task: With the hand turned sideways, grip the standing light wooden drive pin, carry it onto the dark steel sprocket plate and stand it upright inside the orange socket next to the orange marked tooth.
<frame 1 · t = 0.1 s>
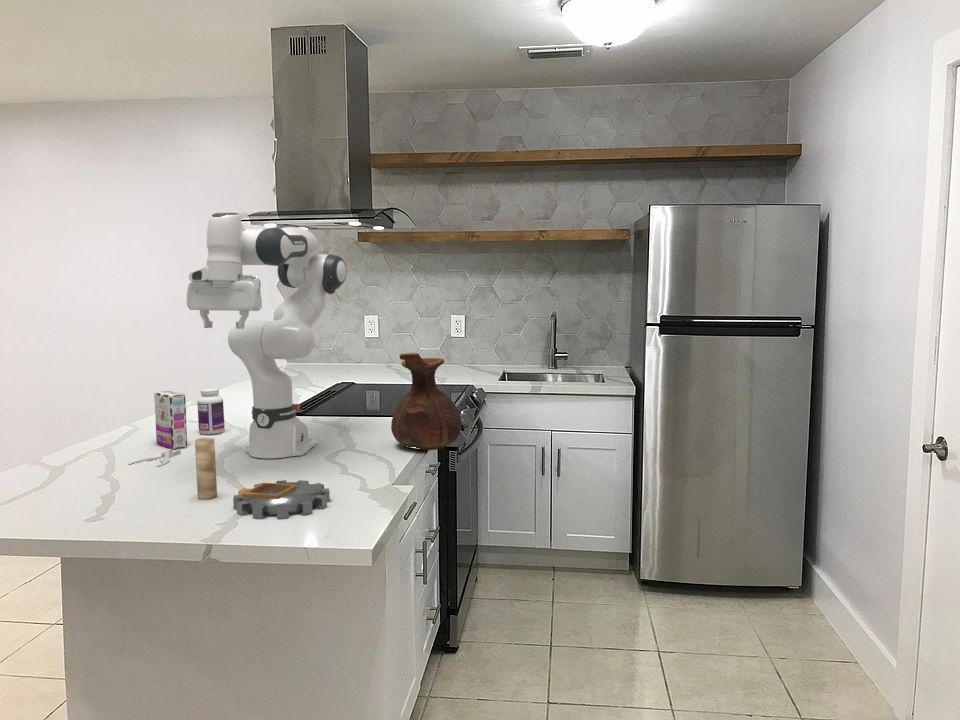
hand: (224, 328, 201), 39 cm above the counter, tool pointing down, fingers open, 8 cm apart
pill bottle: (211, 433, 255), on the counter
pliers: (159, 461, 221), on the counter
sprocket: (282, 503, 181), on the counter
jug: (425, 446, 237), on the counter
drive pin: (207, 496, 186), on the counter
candy bar box: (172, 446, 237), on the counter
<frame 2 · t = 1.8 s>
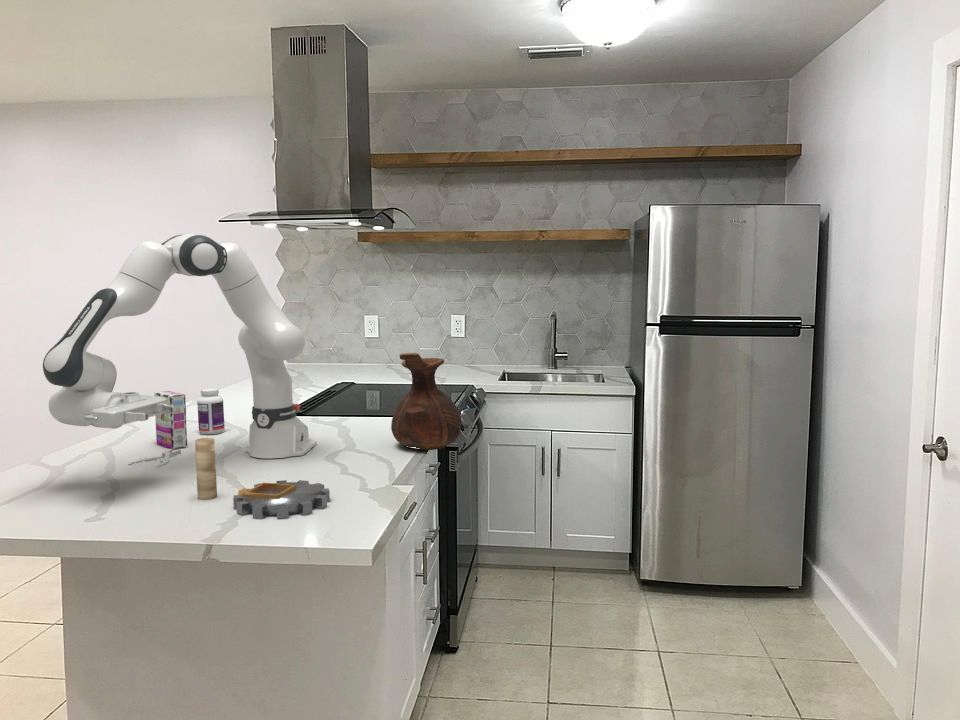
hand: (159, 413, 186), 20 cm above the counter, tool horizontal, fingers open, 8 cm apart
nothing on the counter moved.
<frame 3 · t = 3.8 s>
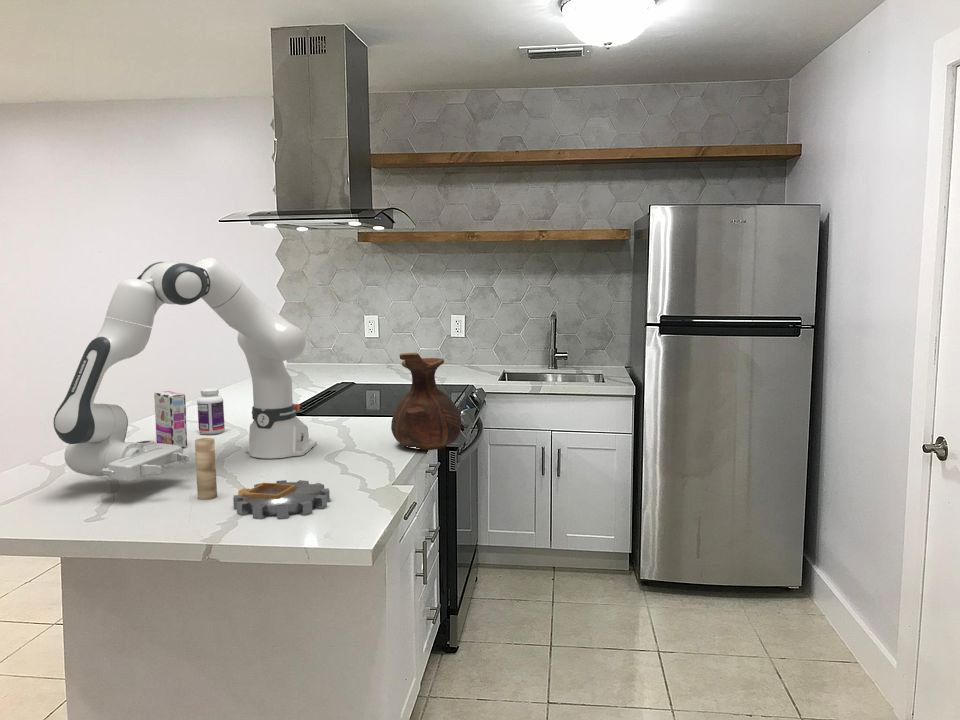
hand: (175, 464, 187), 7 cm above the counter, tool horizontal, fingers open, 8 cm apart
nothing on the counter moved.
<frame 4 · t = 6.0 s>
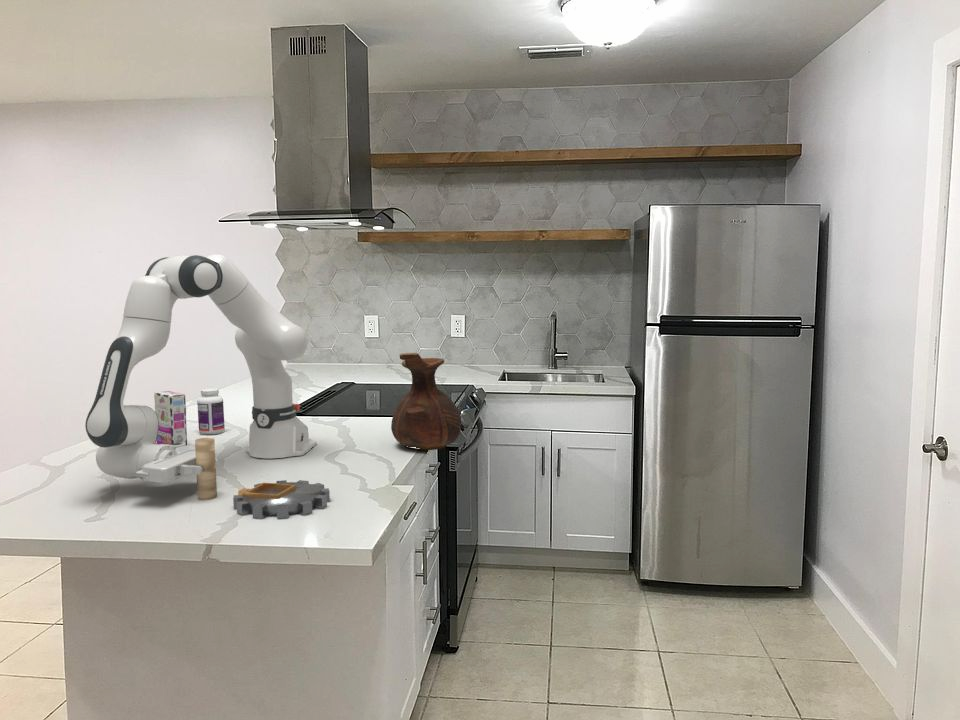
hand: (209, 466, 185), 8 cm above the counter, tool horizontal, fingers closed on drive pin, 4 cm apart
drive pin: (207, 496, 186), on the counter, touching gripper
everything else where it was.
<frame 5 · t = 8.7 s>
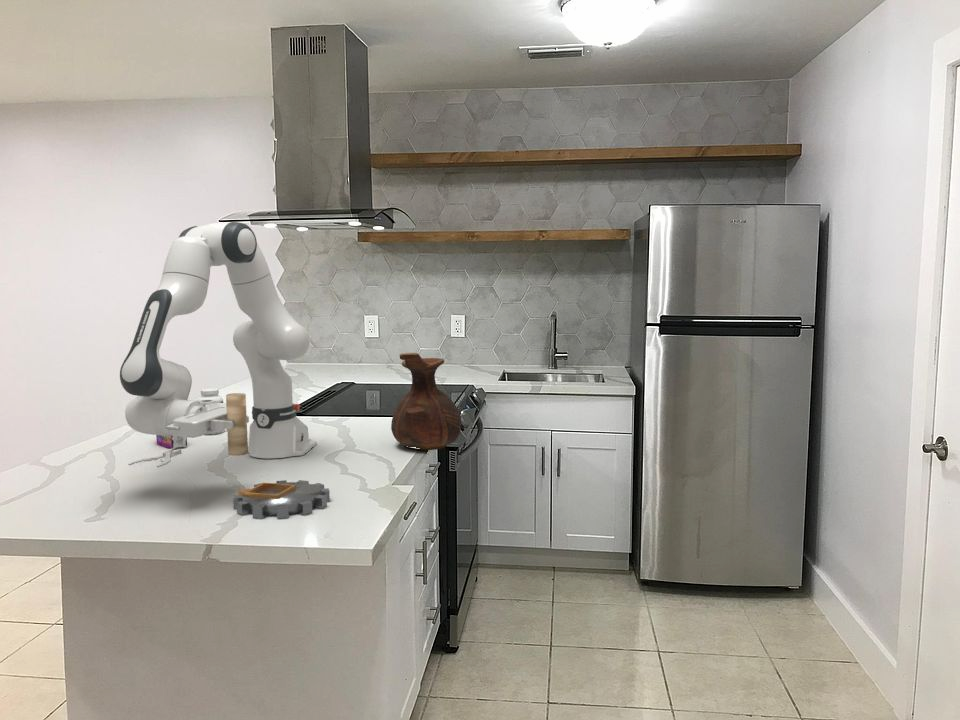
hand: (240, 422, 181), 19 cm above the counter, tool horizontal, fingers closed on drive pin, 4 cm apart
drive pin: (238, 453, 182), point 11 cm above the counter, touching gripper
everything else where it was.
when the fingers open (11 cm above the counter, at t = 11.5 s): drive pin drops 1 cm, resting on sprocket.
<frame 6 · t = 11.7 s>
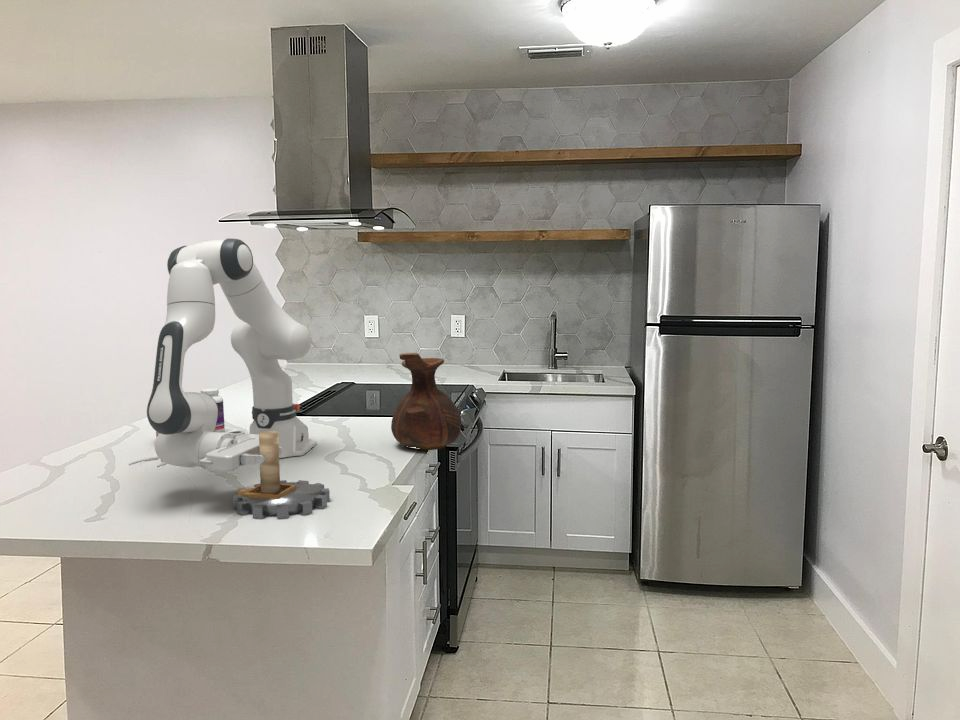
hand: (272, 455, 180), 11 cm above the counter, tool horizontal, fingers open, 6 cm apart
drive pin: (270, 491, 181), point 3 cm above the counter, touching sprocket
everything else where it was.
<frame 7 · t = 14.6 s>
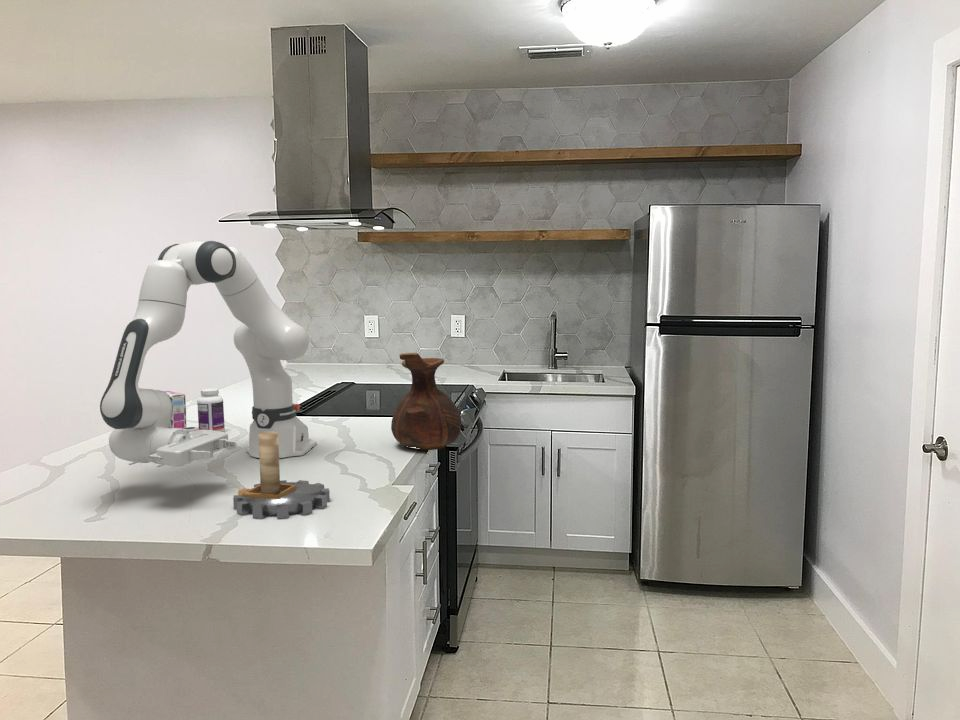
hand: (223, 450, 183), 12 cm above the counter, tool horizontal, fingers open, 8 cm apart
nothing on the counter moved.
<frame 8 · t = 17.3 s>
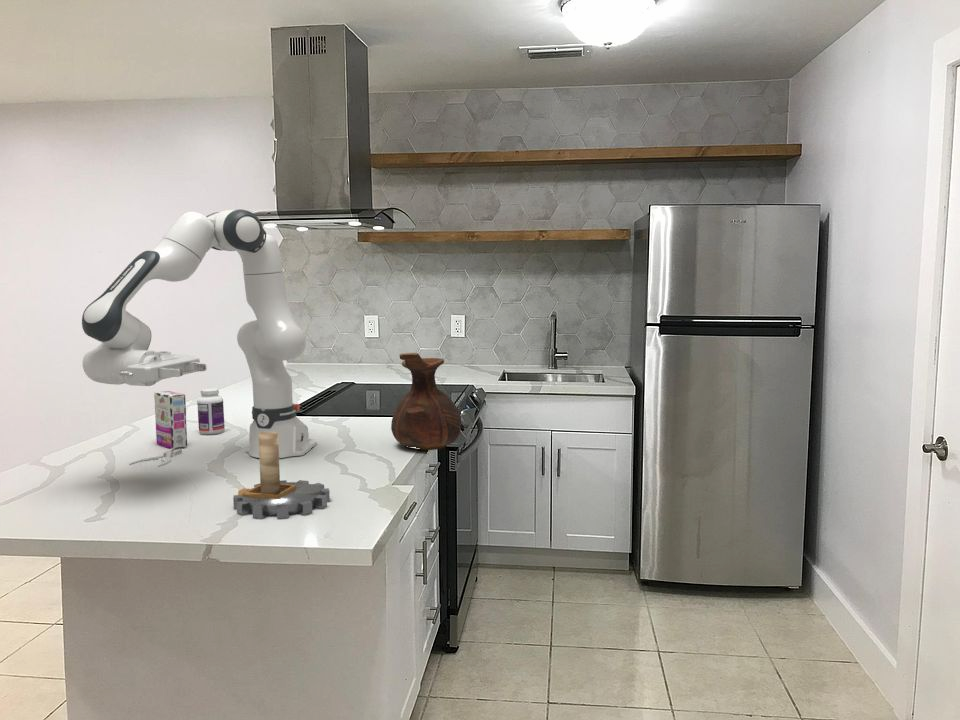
hand: (193, 370, 187), 30 cm above the counter, tool horizontal, fingers open, 8 cm apart
nothing on the counter moved.
at the end: drive pin 0.0 cm from the target spot on the sprocket, point 2.5 cm above the sprocket's base; drive pin tilted 0°; the gripper is holding nothing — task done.
